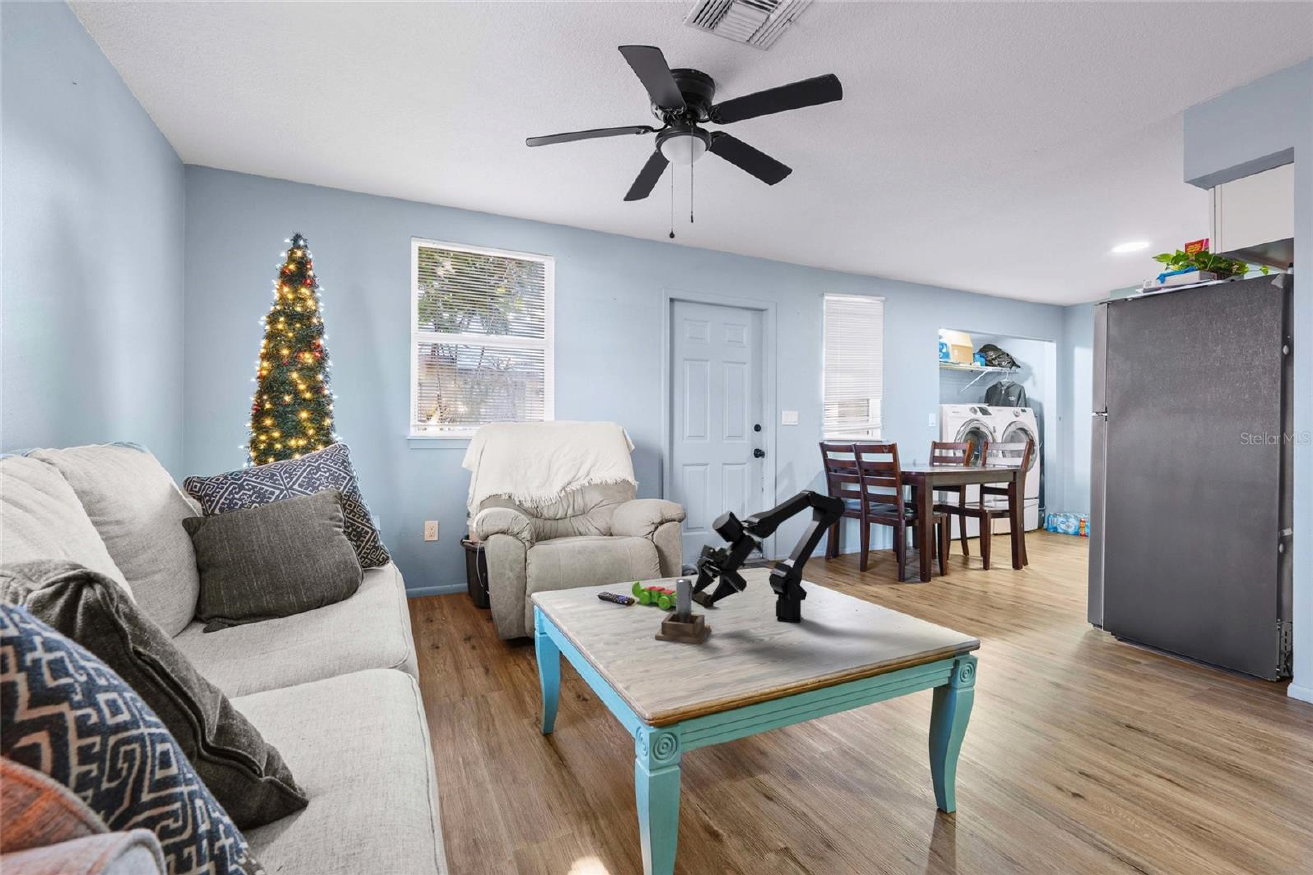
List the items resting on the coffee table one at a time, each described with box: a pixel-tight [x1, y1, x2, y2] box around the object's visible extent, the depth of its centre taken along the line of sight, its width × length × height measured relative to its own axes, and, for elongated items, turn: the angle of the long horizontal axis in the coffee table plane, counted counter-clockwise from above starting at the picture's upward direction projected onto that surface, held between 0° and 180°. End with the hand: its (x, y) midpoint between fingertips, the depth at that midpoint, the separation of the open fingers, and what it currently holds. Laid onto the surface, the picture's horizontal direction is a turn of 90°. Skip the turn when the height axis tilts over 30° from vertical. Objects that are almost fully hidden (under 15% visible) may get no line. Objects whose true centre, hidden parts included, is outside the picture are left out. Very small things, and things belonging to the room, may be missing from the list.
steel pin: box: [675, 578, 692, 624], centre depth 157 cm, size 4×4×13 cm
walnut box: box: [654, 611, 711, 645], centre depth 157 cm, size 12×12×4 cm
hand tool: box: [691, 582, 715, 608], centre depth 190 cm, size 19×4×5 cm, turn 23°
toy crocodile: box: [631, 580, 676, 611], centre depth 184 cm, size 20×7×6 cm, turn 51°
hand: (701, 598), depth 159 cm, fingers open, 9 cm apart
